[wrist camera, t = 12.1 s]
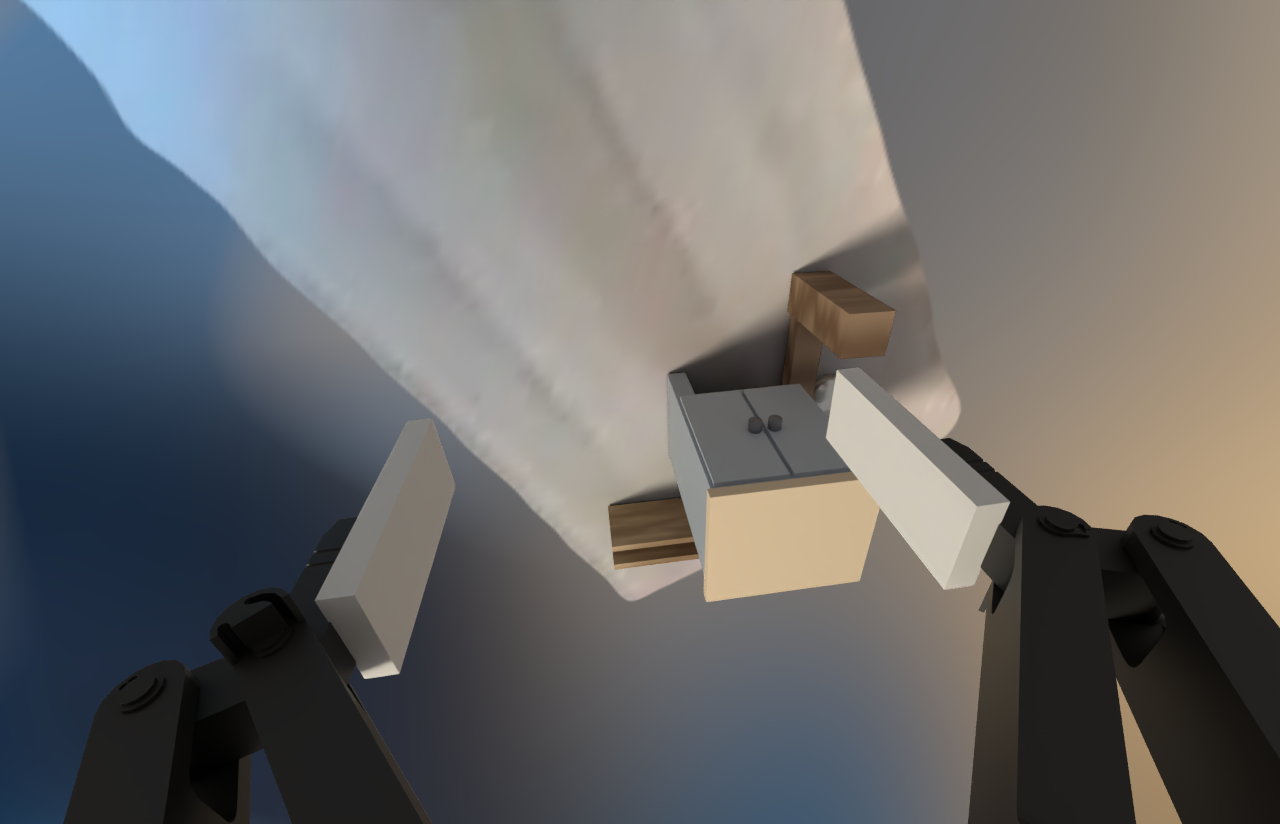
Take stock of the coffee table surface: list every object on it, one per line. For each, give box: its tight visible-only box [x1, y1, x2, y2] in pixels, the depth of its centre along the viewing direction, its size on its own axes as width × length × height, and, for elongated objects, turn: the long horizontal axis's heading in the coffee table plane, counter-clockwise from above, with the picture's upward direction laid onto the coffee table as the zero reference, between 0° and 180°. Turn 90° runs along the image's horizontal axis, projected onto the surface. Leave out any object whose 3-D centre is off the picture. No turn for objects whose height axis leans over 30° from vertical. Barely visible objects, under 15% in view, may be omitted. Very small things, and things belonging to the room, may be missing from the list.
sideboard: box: [667, 372, 880, 602], centre depth 49 cm, size 13×14×21 cm
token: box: [813, 374, 836, 418], centre depth 58 cm, size 5×5×2 cm
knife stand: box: [608, 498, 699, 569], centre depth 62 cm, size 4×20×7 cm, turn 92°
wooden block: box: [782, 271, 896, 399], centre depth 50 cm, size 17×4×12 cm, turn 1°
